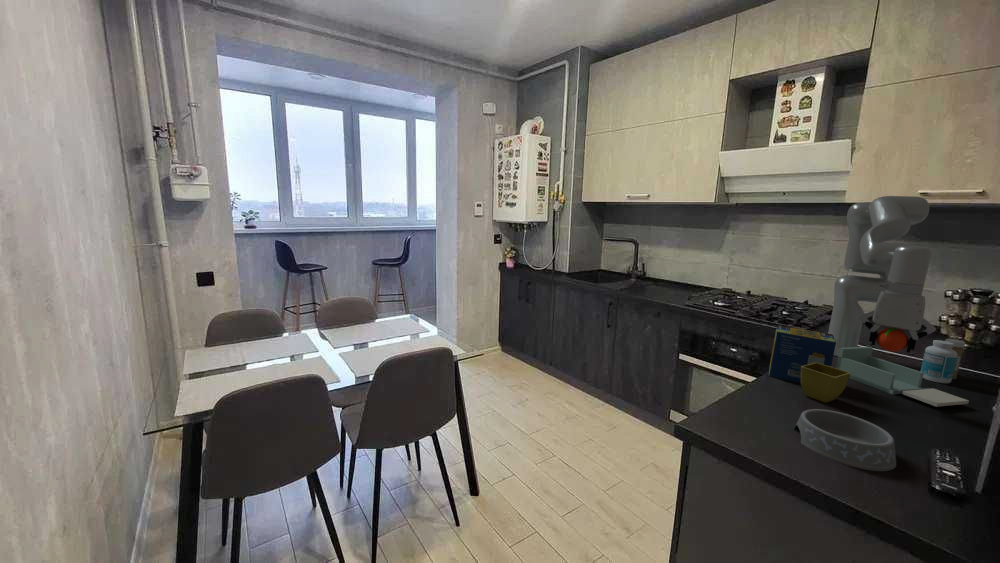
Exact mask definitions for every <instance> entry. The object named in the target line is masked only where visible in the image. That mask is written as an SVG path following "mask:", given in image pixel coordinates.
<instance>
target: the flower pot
mask: <svg viewBox="0 0 1000 563" xmlns="http://www.w3.org/2000/svg"><path fill="white" fill-rule="evenodd" d="M849 376H850V373H849V372H846V371H843V370H840V369H836V367H833V366H831V367H830V366H827V365H823V364H820V363H812V364H808V365H804V366H801V383H800V386H801V388H802V391H803V393H804V394H805V396H807V397H808V398H812V399H814V400H816V401H819V402H822V403H827V404H828V403H829V402H832V401H834V400H836V399H837V398H838V397H840V395H841V394H842V393H843V392H844V390H845V389H846V386H847V383H848V381H849V379H850V378H849Z"/></svg>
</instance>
